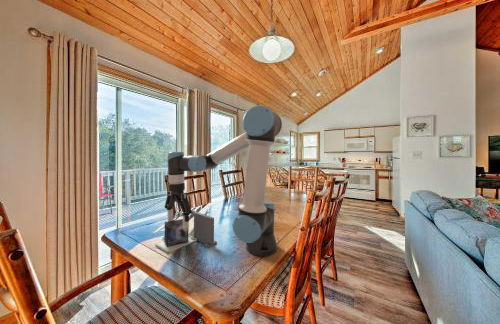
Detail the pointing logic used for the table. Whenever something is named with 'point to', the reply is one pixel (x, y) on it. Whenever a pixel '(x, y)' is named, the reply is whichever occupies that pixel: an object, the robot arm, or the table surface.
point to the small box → (175, 233)
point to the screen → (204, 229)
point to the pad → (174, 247)
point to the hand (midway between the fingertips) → (177, 224)
